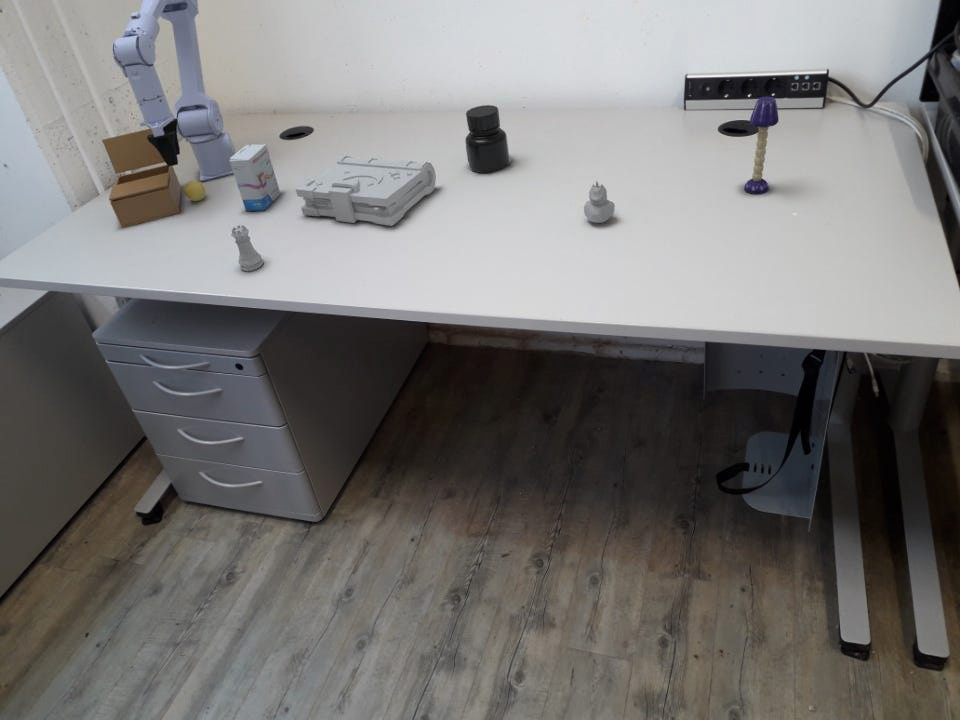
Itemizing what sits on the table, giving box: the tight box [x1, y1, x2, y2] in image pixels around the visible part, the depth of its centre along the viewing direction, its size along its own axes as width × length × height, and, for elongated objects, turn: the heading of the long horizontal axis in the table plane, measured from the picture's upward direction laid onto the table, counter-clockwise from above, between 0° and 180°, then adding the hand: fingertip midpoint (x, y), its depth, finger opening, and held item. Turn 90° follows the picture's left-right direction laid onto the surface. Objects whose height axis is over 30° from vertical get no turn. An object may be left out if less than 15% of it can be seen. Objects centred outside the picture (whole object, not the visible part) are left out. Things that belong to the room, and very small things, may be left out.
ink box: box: [230, 144, 281, 212], centre depth 162 cm, size 9×5×12 cm, turn 168°
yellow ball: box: [183, 179, 207, 202], centre depth 171 cm, size 5×5×5 cm
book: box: [294, 155, 437, 227], centre depth 156 cm, size 19×28×8 cm
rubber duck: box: [583, 180, 616, 224], centre depth 135 cm, size 5×7×8 cm
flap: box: [101, 128, 165, 175], centre depth 174 cm, size 8×12×1 cm
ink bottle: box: [464, 104, 510, 174], centre depth 161 cm, size 10×9×12 cm
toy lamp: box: [743, 96, 780, 195], centre depth 133 cm, size 5×5×17 cm
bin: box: [108, 164, 182, 228], centre depth 171 cm, size 16×12×7 cm
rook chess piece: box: [231, 224, 264, 272], centre depth 140 cm, size 4×4×8 cm
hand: (174, 160), depth 165 cm, fingers open, 7 cm apart
